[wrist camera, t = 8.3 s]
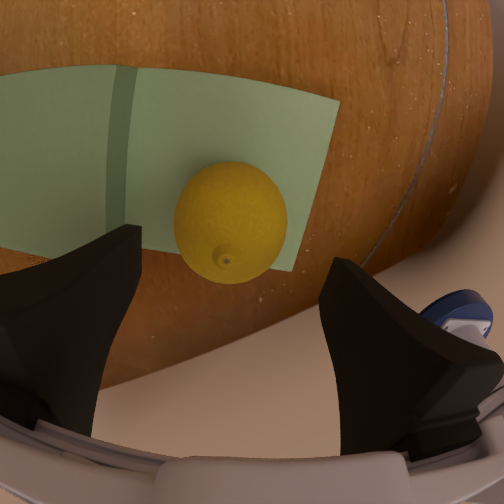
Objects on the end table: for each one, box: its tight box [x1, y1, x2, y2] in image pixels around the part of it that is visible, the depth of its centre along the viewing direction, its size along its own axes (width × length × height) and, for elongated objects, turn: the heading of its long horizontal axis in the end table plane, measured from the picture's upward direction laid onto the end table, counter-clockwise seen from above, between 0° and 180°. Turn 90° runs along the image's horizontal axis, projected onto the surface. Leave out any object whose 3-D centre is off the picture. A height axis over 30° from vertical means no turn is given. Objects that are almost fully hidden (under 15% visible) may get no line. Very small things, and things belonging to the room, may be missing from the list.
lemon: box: [173, 161, 288, 284], centre depth 15 cm, size 6×6×8 cm
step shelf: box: [0, 64, 340, 271], centre depth 14 cm, size 12×40×6 cm, turn 79°
